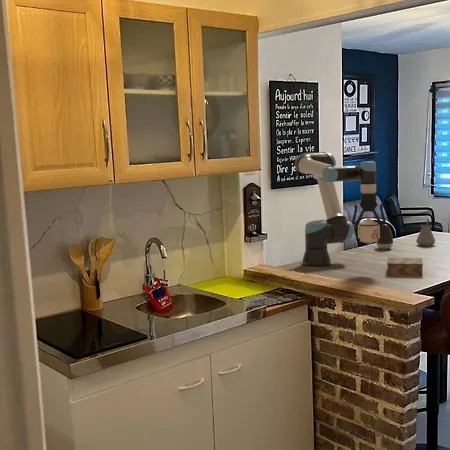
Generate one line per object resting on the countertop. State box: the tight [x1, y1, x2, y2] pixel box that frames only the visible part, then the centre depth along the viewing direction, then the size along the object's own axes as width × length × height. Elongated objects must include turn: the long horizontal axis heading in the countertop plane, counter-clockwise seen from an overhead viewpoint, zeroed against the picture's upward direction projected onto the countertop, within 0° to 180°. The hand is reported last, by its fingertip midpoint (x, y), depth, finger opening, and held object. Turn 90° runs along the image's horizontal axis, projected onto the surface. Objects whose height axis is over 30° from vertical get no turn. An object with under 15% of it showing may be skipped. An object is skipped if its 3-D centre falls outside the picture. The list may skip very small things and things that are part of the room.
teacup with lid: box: [358, 217, 379, 244], centre depth 291 cm, size 12×9×12 cm
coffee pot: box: [415, 219, 436, 247], centre depth 373 cm, size 21×12×15 cm, turn 156°
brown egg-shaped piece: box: [375, 223, 394, 250], centre depth 361 cm, size 10×10×15 cm
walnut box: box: [386, 256, 424, 277], centre depth 289 cm, size 16×16×6 cm
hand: (368, 238), depth 291 cm, fingers closed on teacup with lid, 9 cm apart
